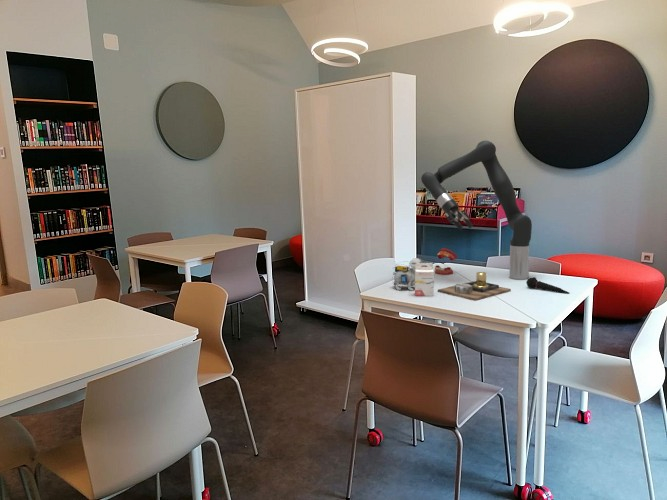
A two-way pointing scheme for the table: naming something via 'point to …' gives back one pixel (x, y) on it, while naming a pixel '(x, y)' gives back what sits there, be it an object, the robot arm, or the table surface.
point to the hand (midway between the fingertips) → (466, 227)
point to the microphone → (543, 286)
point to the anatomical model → (443, 254)
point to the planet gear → (481, 280)
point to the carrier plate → (473, 291)
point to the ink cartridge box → (424, 279)
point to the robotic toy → (406, 274)
